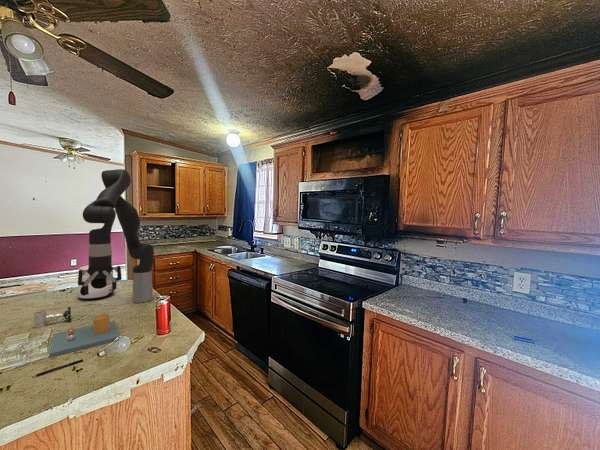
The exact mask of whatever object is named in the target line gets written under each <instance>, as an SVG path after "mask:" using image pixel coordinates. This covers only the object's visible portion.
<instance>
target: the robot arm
mask: <svg viewBox="0 0 600 450" xmlns="http://www.w3.org/2000/svg"><path fill="white" fill-rule="evenodd" d="M100 177H101V180H102V183H103V186H104V187H105V188H104V189H103V190H101V191H100V192H99V194H98V196H97V197H96V199H95V200H94V201H92V202H91V203H88V204H87V206H86V207H85V208H84V209H83V211H82V219H83V221H84V222H86V223H88V224H103V225H102V227H99V228H94V229H91V230H90V231H89V232H88V251H87V252H88V253H87V254H88V265H89V268H88V270H82V269H80V270H79V269H78V274H77V275H78V276H77V286H78V285H83V286H84V293H85V294H86V295H89V294H88V284H89V283H90V282H91V281H92V280H93V279H100V278H106V277H108V278H109V279H111V280H112V281H113V282H112V291H114V292H115V290H116V289H117V282H119V281H122V278H123V277H122V268H121V265H117V266H113V262H112V255H113V254H112V245H111V244H112V241H111V238H112V237H111V234H112V229H113V225H114V222H115V219H116V217H117V219H118V222H119V225H120V227H121V230H122V232H123V233H122V234H123V235H124V238H125V241H126V246H127V247H126V248H127V251H128V254H129V256H130V257H131V259H135V260H139V263H138V264H137V265H134V266H133V268H132V303H135V304H143V303H142V302H144V303H147V301H148V302H150V301H153V299H154V297H153V296H154V295H153V293H154V292H153V282H152V279H153V274H152V273H153V266H154V259H155V258H154V255H155V253H154V251H155V250H154V246H153V245H152V244H150V243H141V241H140V239H139V235H138V233H139V228H140V225H141V220H140V219H141V218H140V216H139V213H138V210H137V209H136V208H135V207H134V205H132V204H131V203H130V202H128V201H127V200H126V199H125V198H124V197H122V195H123V194H124V192H126V191H127V189H128V188H129V187H130V186H131V181H132V179H131V176H130V173H129V172H128V171H127V170H126V169H123V168H119V169H109V170H103V171H102V172H101V176H100ZM112 271H115V272H116V274H117V275H116V276H117V277H114V275H113V276H112V275H111V274H110V273H111V272H112ZM86 272H87V273H88V274H89V275H90V276H89V277H88V279H87V280H86V281H85V282H82V275H85V273H86ZM149 300H150V301H149Z"/></svg>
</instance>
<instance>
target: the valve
mask: <svg viewBox="0 0 600 450" xmlns="http://www.w3.org/2000/svg"><path fill="white" fill-rule="evenodd" d="M33 317H34V318H33V323H34V326H33V327H34V328H35V329H42V328H44V327H47V326H48V323H47V321H49V322H51V321H53V320H54V319H60V318H62V317H63V318H64V319H66V320H67V321H68V322H69V321H72V310H71V306H67V310H65V311H64V312H62V313H57V314H53V313H49V314H48V315H47V311H46V310H38V311H36V312H34V313H33Z"/></svg>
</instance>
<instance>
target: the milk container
mask: <svg viewBox="0 0 600 450" xmlns="http://www.w3.org/2000/svg"><path fill="white" fill-rule="evenodd" d="M88 268H89V264H88V265H87V264H86V265H83V266H81V267H79V269H78V271H79V270H80V269H82V270H88ZM113 271H114V270H113ZM113 271H112V272H111V273H110V274H111V275H112V276H113V277H114V272H113ZM89 276H90V275H89V274H88V273H87V272H86V273H85V275H82V282H85V281H86V280H87V279H88V277H89ZM112 282H113V281H112V280H111V279H109V278H108V277H106V278H100V279H93V280H92V281H91V282H90V283H89V284H88V294H89V295H86V294H85V293H84V286H83V285H78V284H77V288H76V289H77V290H76V294H77V297H78V298H79V299H80V300H96V299H102V298H106V297H109V296H111V295H112V294H113V293H114V292H115V290H114V291H112Z"/></svg>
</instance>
